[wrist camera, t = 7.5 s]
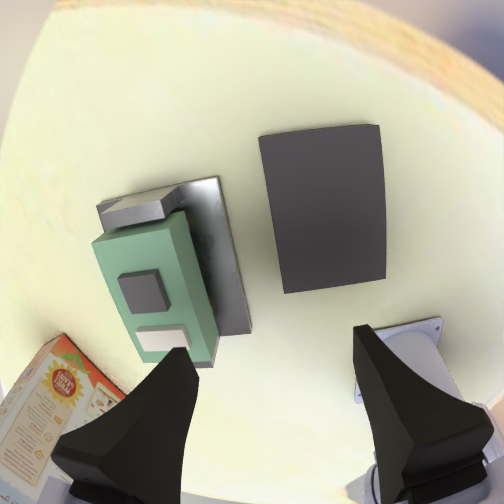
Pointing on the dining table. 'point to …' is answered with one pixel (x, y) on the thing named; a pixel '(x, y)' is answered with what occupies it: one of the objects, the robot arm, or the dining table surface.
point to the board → (158, 287)
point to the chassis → (194, 243)
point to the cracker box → (47, 416)
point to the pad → (327, 205)
